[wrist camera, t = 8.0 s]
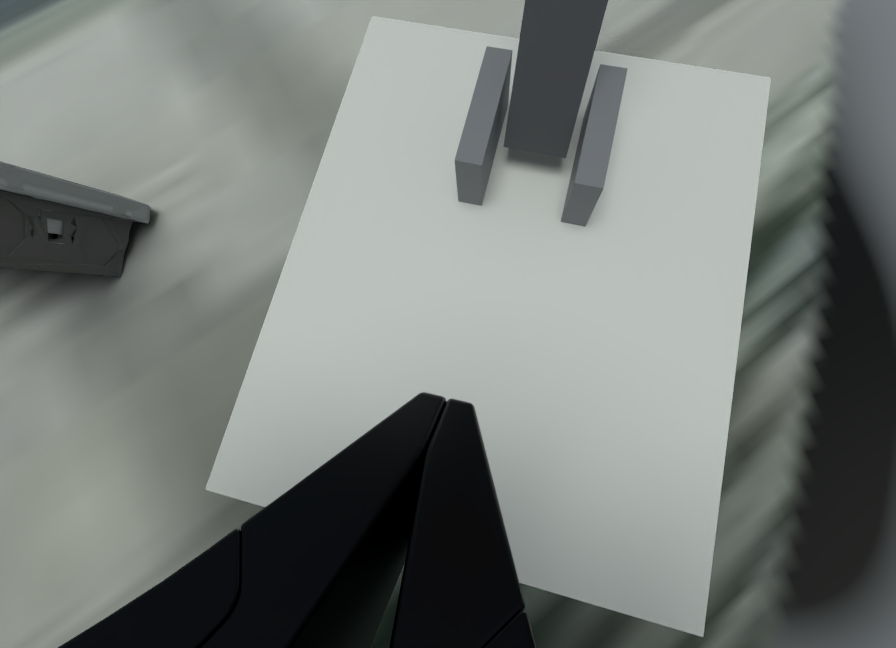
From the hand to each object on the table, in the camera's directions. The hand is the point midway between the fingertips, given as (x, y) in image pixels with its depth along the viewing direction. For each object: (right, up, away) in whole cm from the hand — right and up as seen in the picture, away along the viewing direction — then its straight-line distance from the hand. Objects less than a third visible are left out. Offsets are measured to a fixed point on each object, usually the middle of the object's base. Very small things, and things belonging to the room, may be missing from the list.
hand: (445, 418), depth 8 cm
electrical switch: (-19, +5, +17) cm, 26 cm away
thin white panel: (+3, +3, +15) cm, 15 cm away
